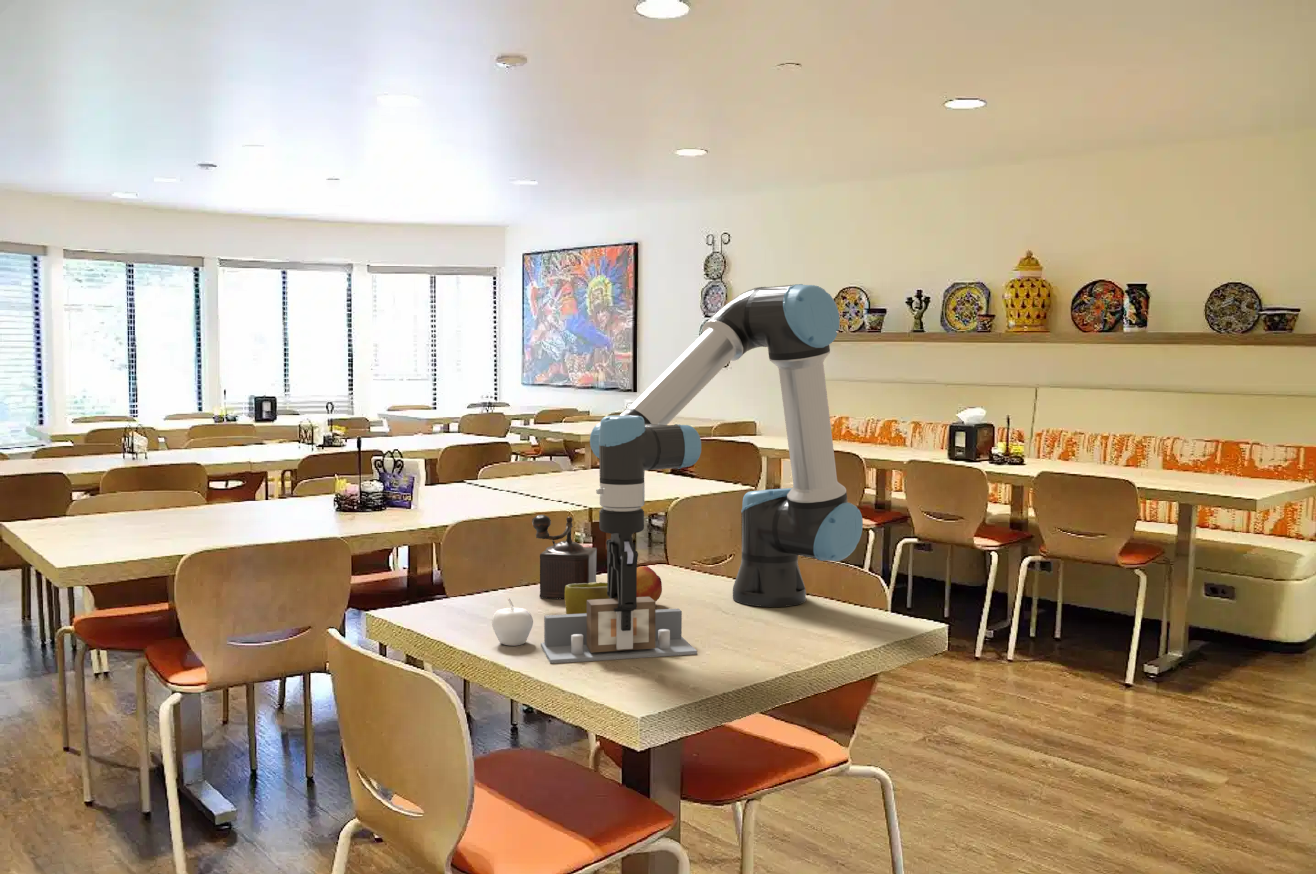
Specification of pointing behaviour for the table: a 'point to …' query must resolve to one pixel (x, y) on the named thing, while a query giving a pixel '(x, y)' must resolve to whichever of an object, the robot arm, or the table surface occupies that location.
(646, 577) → the fruit
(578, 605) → the mug
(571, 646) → the ledge
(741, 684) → the table surface
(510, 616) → the plain white apple
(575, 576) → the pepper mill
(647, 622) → the picture block
